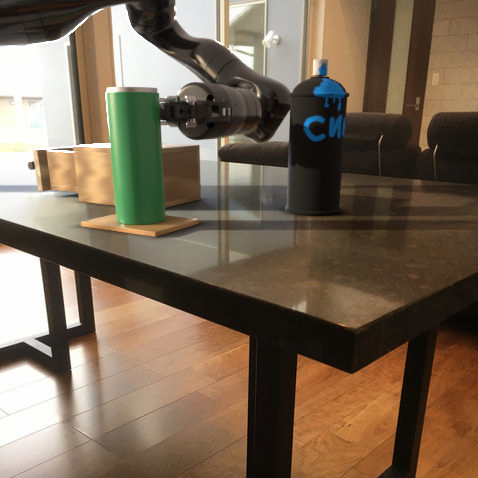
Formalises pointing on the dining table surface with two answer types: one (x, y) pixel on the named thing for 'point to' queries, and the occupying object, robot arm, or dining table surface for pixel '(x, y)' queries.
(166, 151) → the cabinet
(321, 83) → the aerosol can
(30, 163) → the drawer
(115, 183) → the green can
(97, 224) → the cork mat
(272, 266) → the dining table surface
